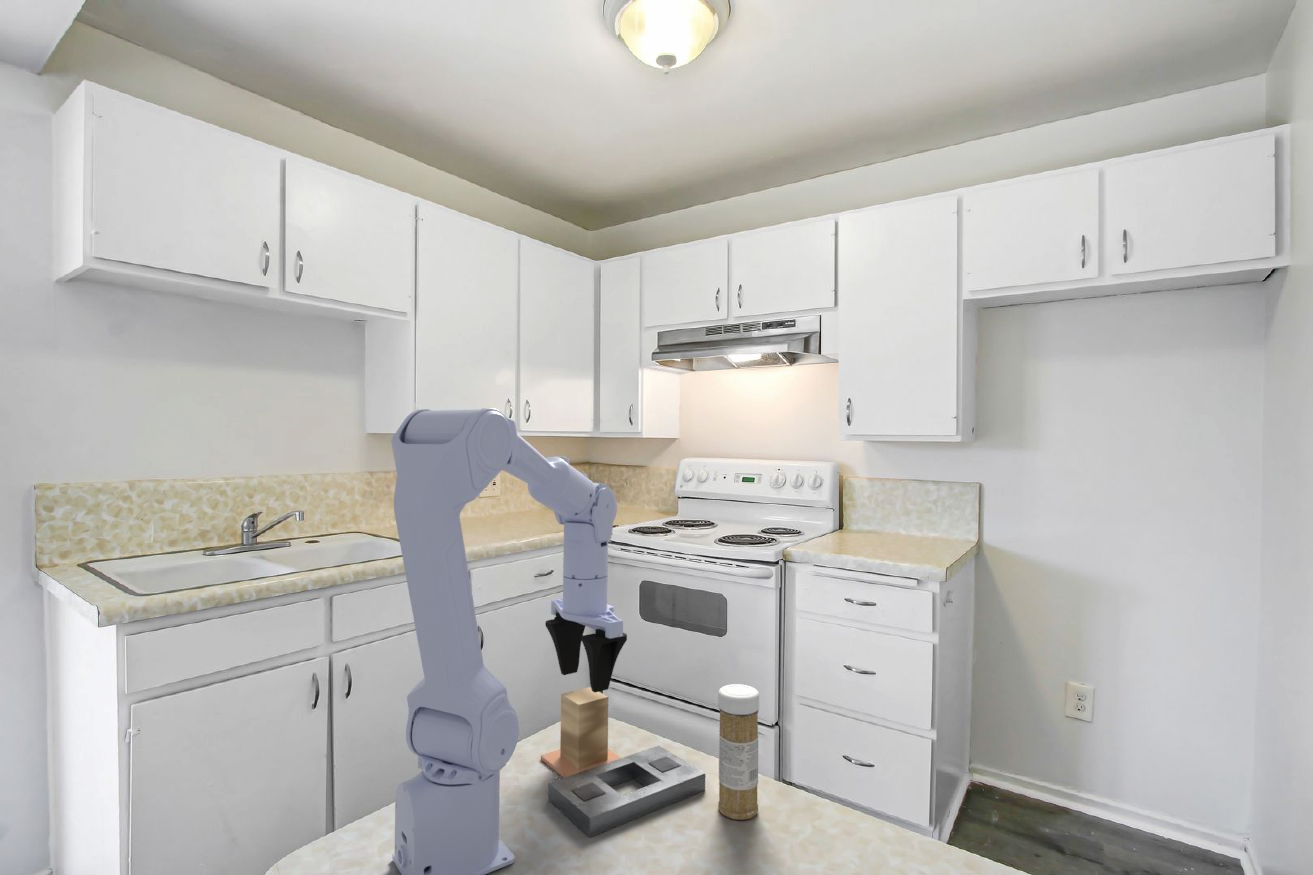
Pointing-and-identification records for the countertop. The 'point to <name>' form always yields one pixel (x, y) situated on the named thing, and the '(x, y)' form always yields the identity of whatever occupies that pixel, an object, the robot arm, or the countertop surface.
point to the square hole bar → (605, 808)
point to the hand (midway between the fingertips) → (584, 681)
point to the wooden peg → (584, 727)
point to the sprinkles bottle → (738, 751)
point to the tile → (568, 769)
